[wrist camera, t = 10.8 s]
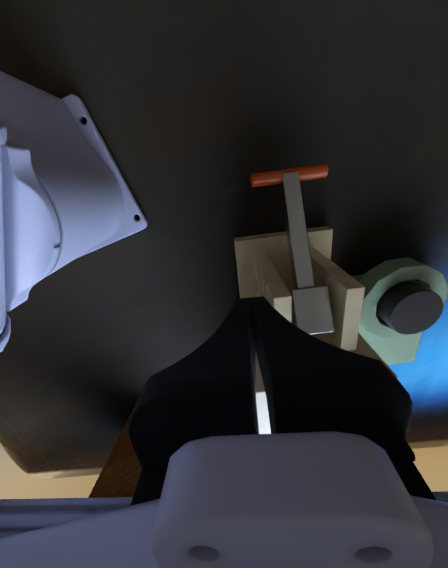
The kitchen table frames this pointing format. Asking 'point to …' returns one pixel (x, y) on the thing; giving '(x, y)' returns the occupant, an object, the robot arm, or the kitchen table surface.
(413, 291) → the button
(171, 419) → the robot arm
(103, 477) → the disposable coffee cup
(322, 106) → the kitchen table surface
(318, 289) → the toaster lever
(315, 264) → the lever bracket
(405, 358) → the block
